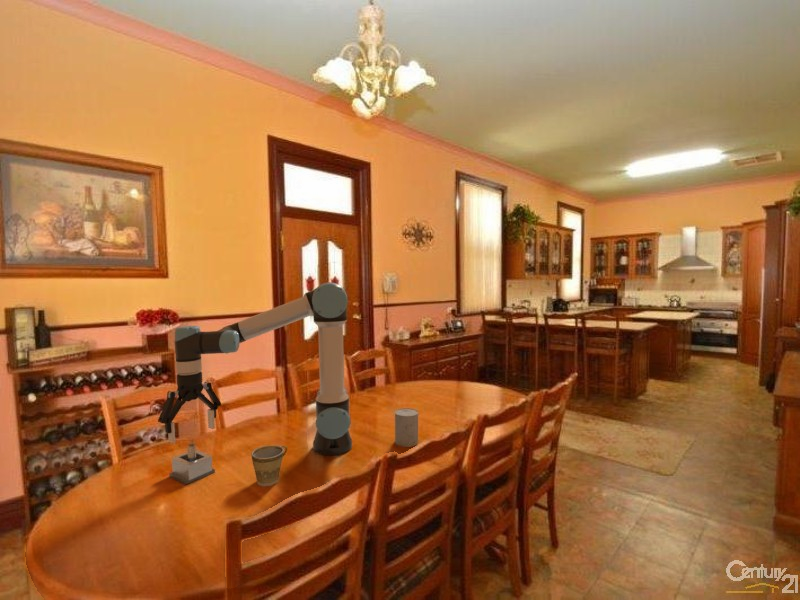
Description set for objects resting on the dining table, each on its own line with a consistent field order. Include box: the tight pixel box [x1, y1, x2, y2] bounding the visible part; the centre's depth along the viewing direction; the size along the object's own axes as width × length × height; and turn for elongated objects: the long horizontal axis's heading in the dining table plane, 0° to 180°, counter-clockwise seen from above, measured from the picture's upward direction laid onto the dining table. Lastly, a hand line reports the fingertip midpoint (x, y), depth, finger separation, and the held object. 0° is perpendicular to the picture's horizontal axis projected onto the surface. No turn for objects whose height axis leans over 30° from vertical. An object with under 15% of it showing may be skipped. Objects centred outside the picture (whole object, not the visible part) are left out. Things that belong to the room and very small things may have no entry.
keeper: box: [168, 438, 216, 486], centre depth 135 cm, size 10×10×12 cm
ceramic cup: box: [250, 444, 288, 487], centre depth 132 cm, size 13×10×10 cm
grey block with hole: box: [171, 449, 213, 480], centre depth 135 cm, size 10×8×5 cm
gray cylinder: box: [394, 407, 419, 448], centre depth 162 cm, size 10×10×12 cm
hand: (192, 434), depth 134 cm, fingers open, 13 cm apart
